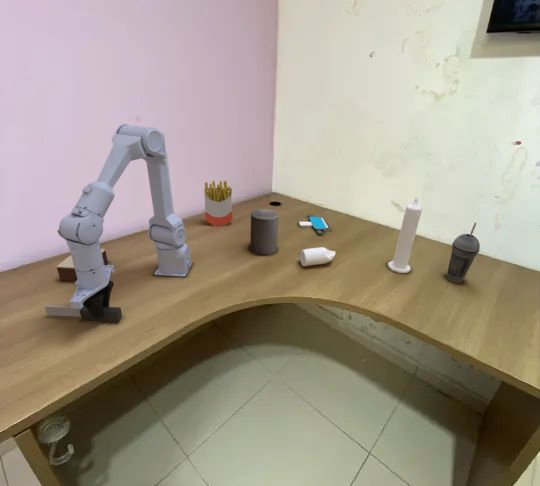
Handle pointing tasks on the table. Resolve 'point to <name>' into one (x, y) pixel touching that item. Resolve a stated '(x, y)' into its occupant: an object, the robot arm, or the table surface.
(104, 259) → the cake slice
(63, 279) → the cake
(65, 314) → the knife
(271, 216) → the pillar candle
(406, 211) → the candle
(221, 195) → the french fries container
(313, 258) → the white bottle
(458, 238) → the beverage cup
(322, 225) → the blue flat paddle
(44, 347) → the table surface
